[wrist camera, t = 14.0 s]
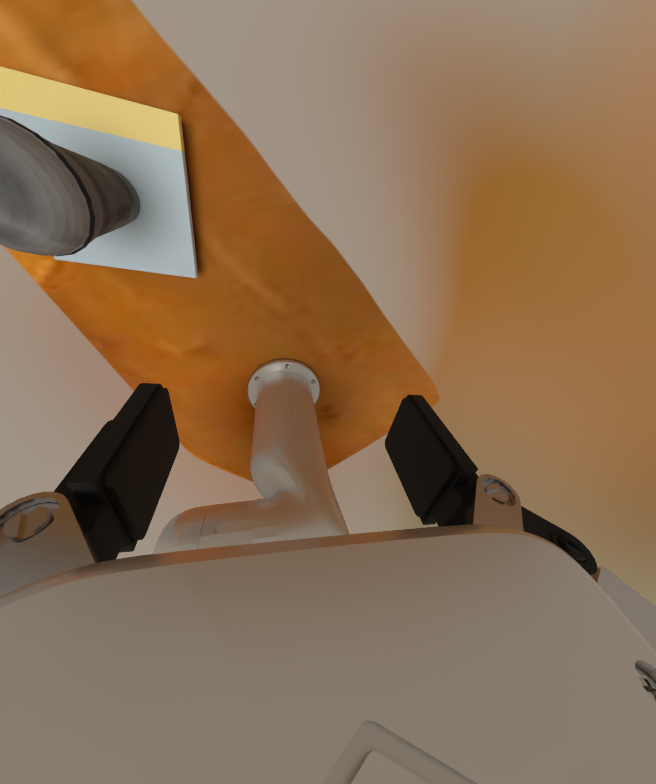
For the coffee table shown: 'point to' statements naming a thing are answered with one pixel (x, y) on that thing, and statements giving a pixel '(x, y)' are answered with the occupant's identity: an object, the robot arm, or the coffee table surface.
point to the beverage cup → (56, 195)
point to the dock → (117, 166)
